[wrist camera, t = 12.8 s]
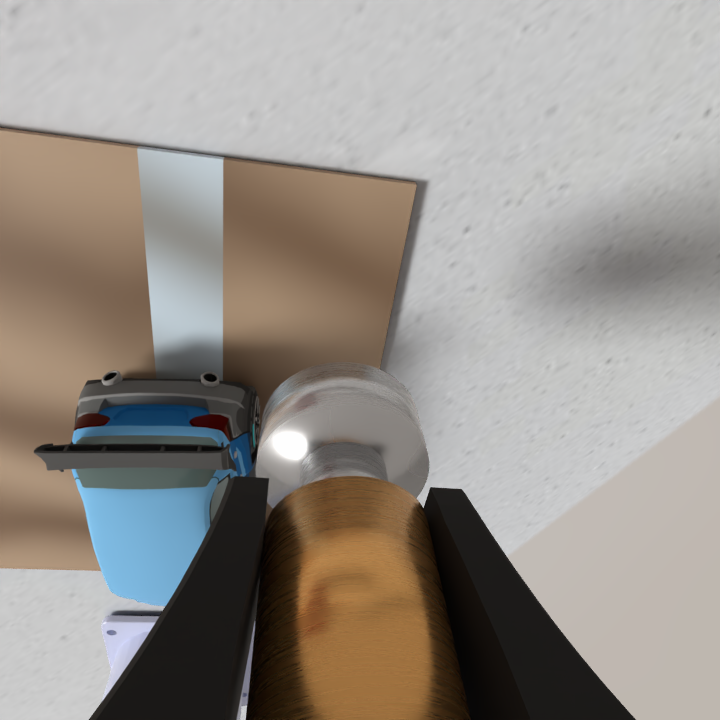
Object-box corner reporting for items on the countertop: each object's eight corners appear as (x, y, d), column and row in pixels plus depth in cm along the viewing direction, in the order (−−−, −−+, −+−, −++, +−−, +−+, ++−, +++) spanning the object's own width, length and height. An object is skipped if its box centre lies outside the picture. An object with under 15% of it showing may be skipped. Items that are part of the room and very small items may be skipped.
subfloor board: (337, 571, 27) (337, 576, 27) (-185, 557, 24) (-190, 563, 24) (415, 182, 16) (416, 184, 16) (-525, 58, 13) (-541, 59, 13)
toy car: (143, 554, 25) (103, 681, 20) (87, 339, 18) (8, 455, 14) (268, 552, 26) (257, 675, 21) (258, 343, 19) (239, 455, 14)
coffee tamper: (421, 470, 13) (504, 835, 7) (279, 489, 13) (249, 868, 7) (413, 351, 11) (519, 723, 5) (245, 373, 11) (168, 768, 5)
